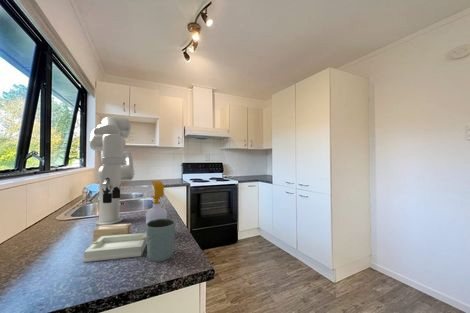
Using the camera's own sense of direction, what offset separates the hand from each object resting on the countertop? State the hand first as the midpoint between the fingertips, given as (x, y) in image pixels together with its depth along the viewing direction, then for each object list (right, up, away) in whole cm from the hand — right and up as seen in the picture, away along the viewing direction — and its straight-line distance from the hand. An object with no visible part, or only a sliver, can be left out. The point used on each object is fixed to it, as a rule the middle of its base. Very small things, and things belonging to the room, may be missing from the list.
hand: (112, 200), depth 88 cm
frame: (0, -17, 0) cm, 17 cm away
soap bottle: (+18, -17, +4) cm, 25 cm away
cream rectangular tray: (+10, -16, -12) cm, 22 cm away
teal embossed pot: (+28, -17, -17) cm, 36 cm away
